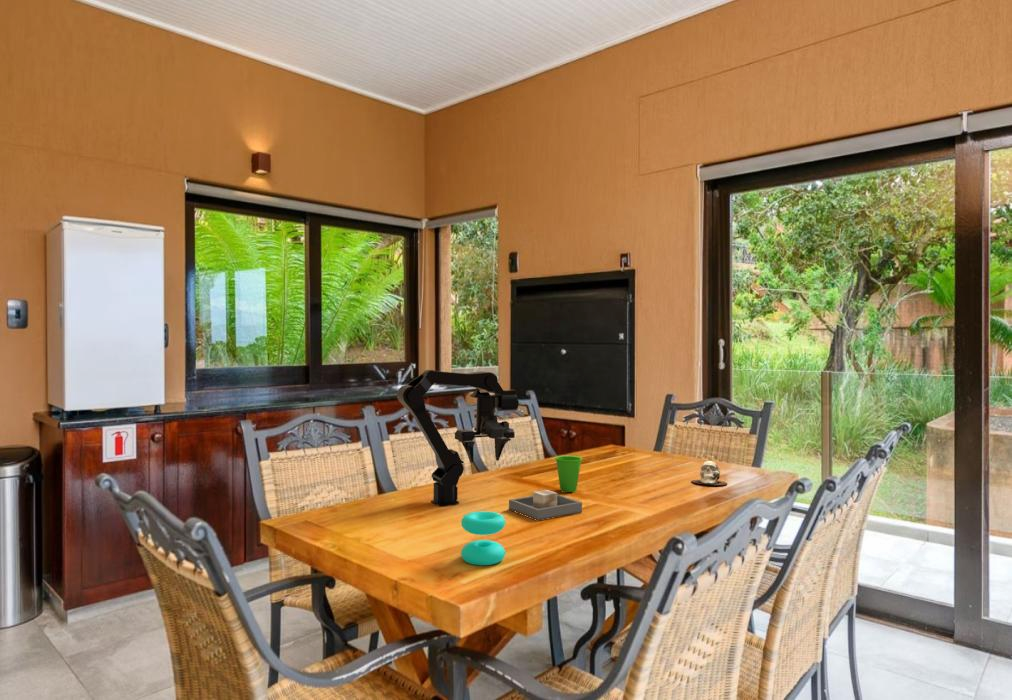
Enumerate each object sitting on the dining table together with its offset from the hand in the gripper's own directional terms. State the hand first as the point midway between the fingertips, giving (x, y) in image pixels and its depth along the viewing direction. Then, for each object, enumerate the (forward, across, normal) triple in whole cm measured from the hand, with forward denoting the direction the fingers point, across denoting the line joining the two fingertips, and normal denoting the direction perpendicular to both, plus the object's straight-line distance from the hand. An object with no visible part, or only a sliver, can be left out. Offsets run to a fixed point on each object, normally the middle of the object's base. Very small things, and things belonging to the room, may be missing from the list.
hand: (484, 461), depth 201 cm
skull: (+11, +80, -20) cm, 83 cm away
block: (+11, +8, -22) cm, 26 cm away
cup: (+12, +29, -5) cm, 32 cm away
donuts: (+12, -28, -49) cm, 57 cm away
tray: (+12, +8, -22) cm, 26 cm away
